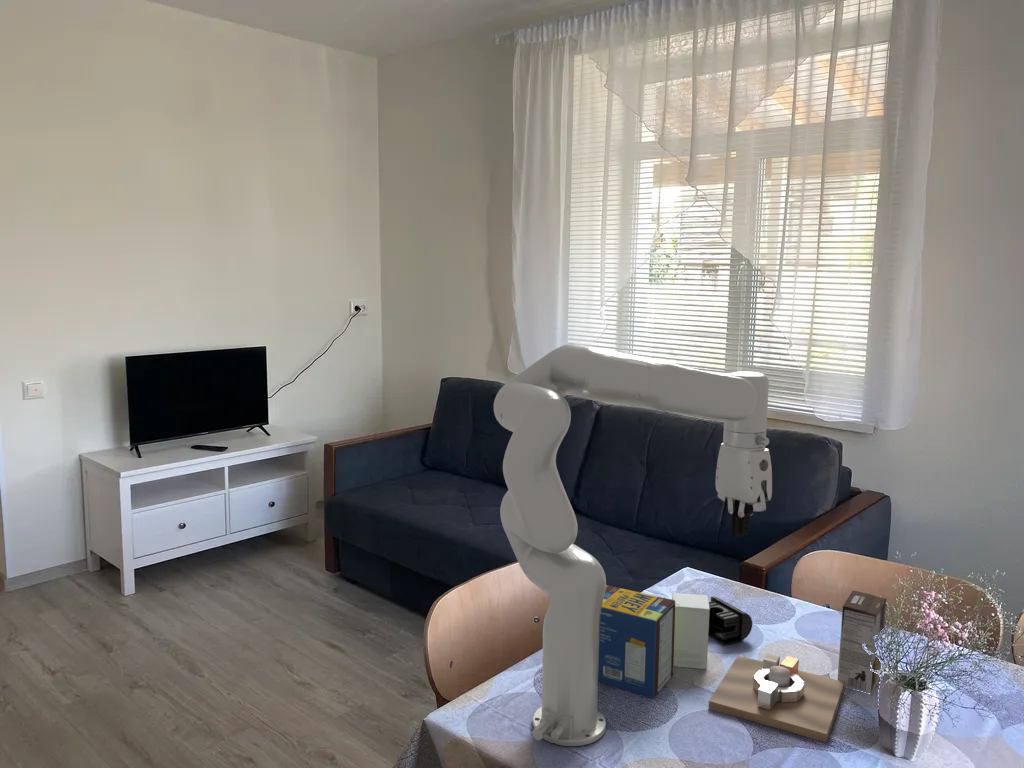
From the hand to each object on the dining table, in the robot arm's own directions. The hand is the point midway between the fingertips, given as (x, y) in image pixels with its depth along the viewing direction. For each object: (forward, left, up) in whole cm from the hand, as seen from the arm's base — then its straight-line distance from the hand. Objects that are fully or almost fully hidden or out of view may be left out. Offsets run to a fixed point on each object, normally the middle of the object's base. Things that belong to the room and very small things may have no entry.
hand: (739, 535), depth 149 cm
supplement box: (+4, +10, -29) cm, 31 cm away
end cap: (+19, +7, -29) cm, 36 cm away
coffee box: (+13, -21, -29) cm, 38 cm away
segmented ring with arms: (-2, -9, -27) cm, 29 cm away
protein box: (-9, +18, -29) cm, 36 cm away
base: (-2, -9, -29) cm, 31 cm away
